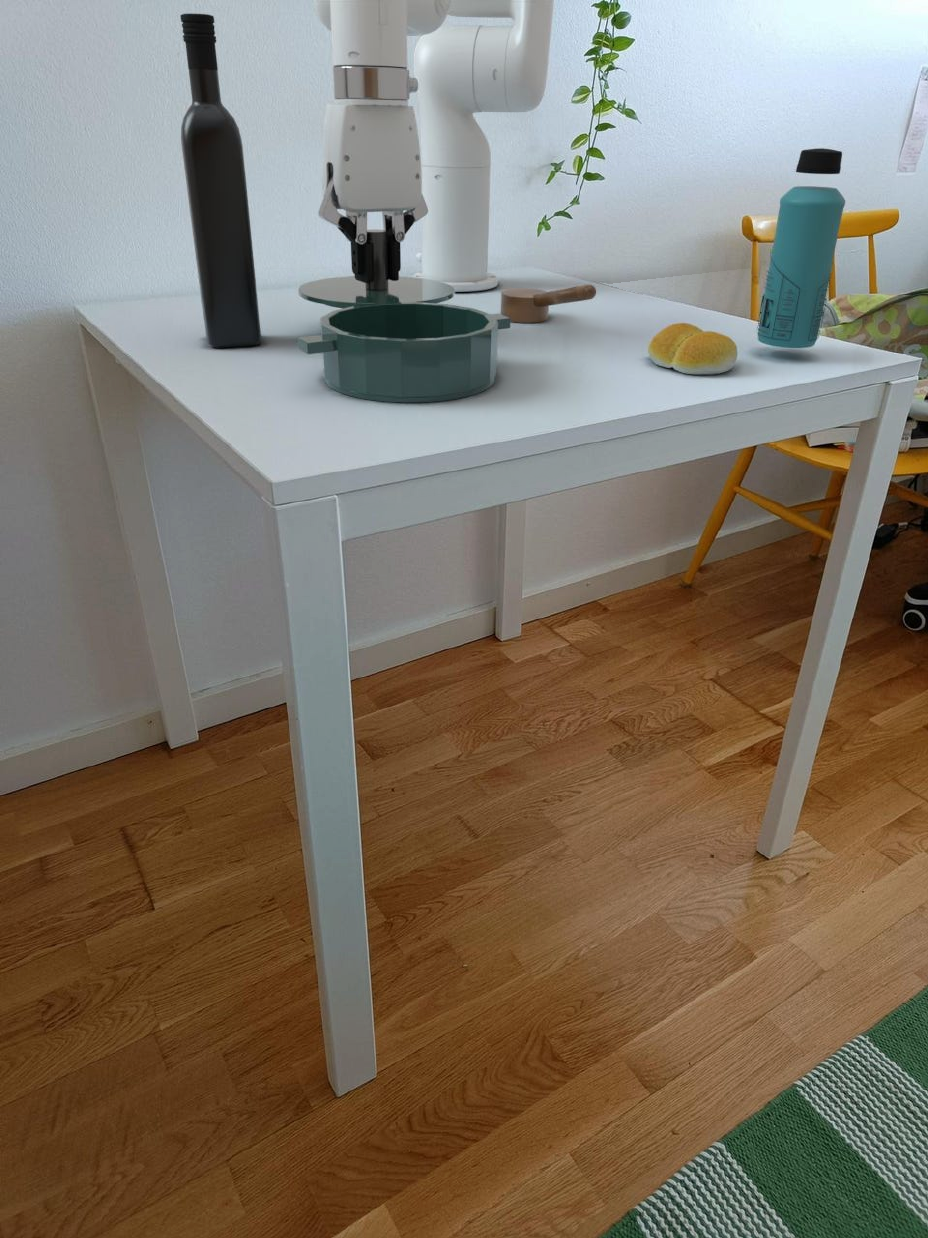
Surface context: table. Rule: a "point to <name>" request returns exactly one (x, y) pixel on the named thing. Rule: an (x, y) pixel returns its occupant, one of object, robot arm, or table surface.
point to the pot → (408, 351)
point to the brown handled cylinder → (539, 302)
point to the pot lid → (375, 284)
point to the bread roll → (692, 350)
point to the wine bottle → (217, 198)
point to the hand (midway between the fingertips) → (376, 278)
